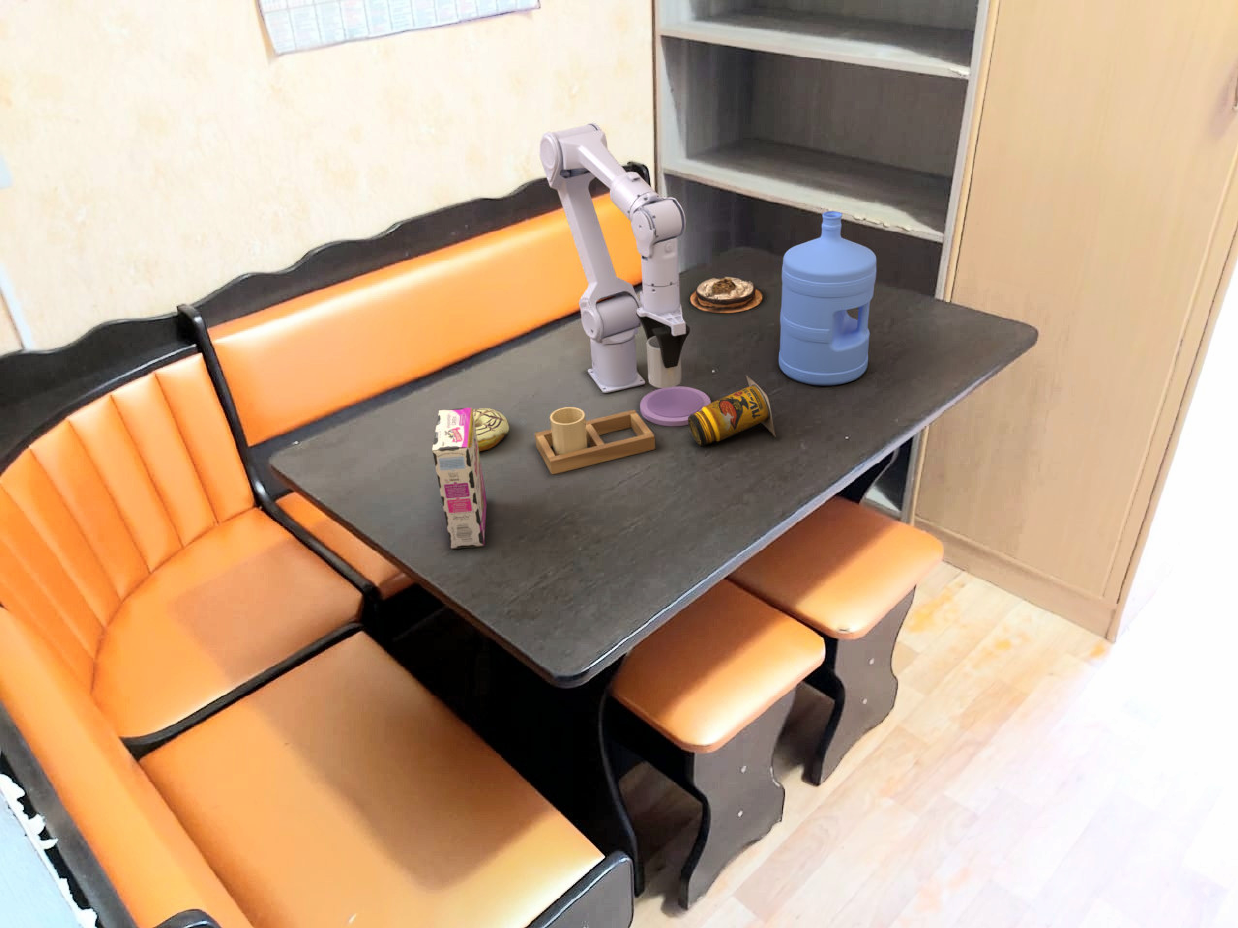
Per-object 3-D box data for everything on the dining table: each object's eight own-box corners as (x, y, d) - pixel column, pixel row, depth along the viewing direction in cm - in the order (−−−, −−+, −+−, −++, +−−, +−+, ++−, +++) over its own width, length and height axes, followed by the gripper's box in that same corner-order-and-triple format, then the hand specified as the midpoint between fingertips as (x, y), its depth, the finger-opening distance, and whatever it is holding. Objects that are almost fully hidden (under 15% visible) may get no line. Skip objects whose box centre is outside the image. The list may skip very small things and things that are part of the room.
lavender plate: (630, 400, 160) (629, 394, 159) (693, 385, 163) (693, 379, 162) (655, 432, 150) (655, 426, 150) (722, 416, 153) (722, 410, 153)
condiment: (767, 394, 142) (697, 424, 140) (776, 437, 147) (709, 467, 145) (747, 374, 148) (680, 403, 146) (756, 416, 153) (691, 445, 151)
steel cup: (644, 376, 153) (641, 338, 149) (674, 370, 155) (672, 332, 151) (655, 390, 149) (653, 351, 145) (686, 383, 150) (685, 344, 146)
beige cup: (550, 449, 148) (545, 411, 144) (582, 441, 150) (578, 404, 146) (560, 465, 144) (555, 427, 140) (592, 457, 145) (589, 419, 141)
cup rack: (536, 446, 149) (534, 433, 148) (635, 422, 154) (634, 409, 152) (551, 475, 142) (550, 461, 141) (655, 449, 146) (654, 435, 145)
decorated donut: (522, 435, 152) (519, 416, 150) (472, 464, 146) (468, 444, 144) (481, 416, 159) (478, 397, 156) (432, 443, 152) (428, 423, 150)
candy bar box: (486, 547, 128) (468, 447, 119) (450, 550, 128) (429, 451, 119) (489, 500, 137) (472, 405, 128) (455, 504, 137) (436, 408, 128)
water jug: (769, 381, 162) (773, 227, 147) (789, 343, 174) (795, 197, 159) (858, 393, 157) (873, 233, 142) (873, 353, 169) (888, 202, 154)
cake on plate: (735, 318, 185) (736, 299, 183) (676, 303, 194) (675, 284, 191) (775, 293, 194) (775, 275, 192) (716, 280, 203) (716, 262, 200)
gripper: (620, 269, 147) (625, 346, 154) (653, 301, 135) (657, 383, 143) (661, 261, 149) (664, 337, 156) (697, 292, 137) (699, 373, 145)
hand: (664, 358), depth 150 cm, fingers closed on steel cup, 5 cm apart
